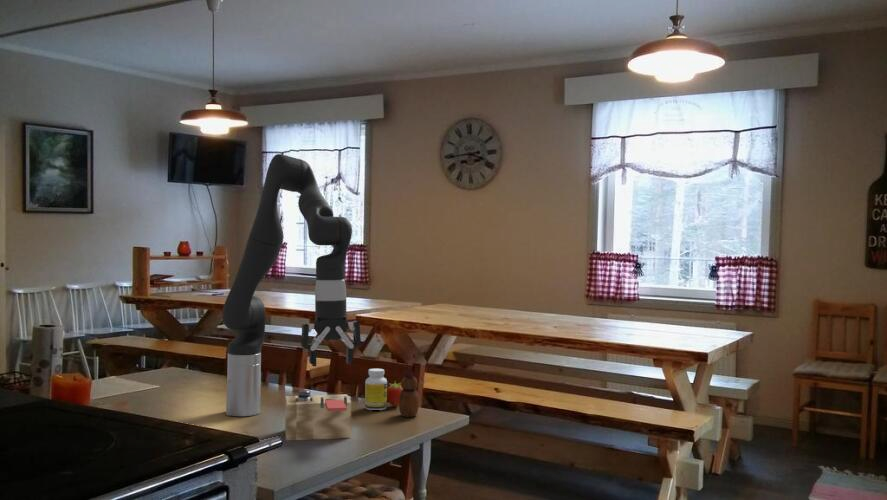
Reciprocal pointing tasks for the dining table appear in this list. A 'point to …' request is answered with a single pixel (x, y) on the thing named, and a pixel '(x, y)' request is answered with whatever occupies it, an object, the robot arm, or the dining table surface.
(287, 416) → the hitch block
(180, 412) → the dining table surface
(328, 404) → the keeper tab
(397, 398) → the fruit
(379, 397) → the pill bottle
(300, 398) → the steel pin
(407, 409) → the wooden figurine
